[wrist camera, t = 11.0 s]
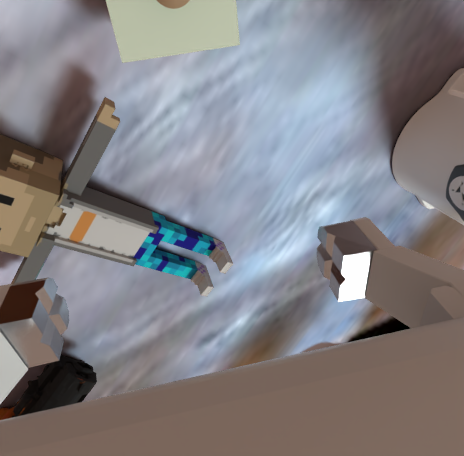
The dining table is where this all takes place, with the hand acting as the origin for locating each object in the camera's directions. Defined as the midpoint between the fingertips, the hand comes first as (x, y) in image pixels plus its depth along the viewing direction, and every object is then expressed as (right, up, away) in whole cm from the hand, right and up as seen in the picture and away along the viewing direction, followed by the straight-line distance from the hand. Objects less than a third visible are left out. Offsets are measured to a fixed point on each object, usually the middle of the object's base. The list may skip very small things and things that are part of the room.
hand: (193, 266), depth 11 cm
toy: (-14, +3, +32) cm, 35 cm away
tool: (-29, -24, +47) cm, 60 cm away
